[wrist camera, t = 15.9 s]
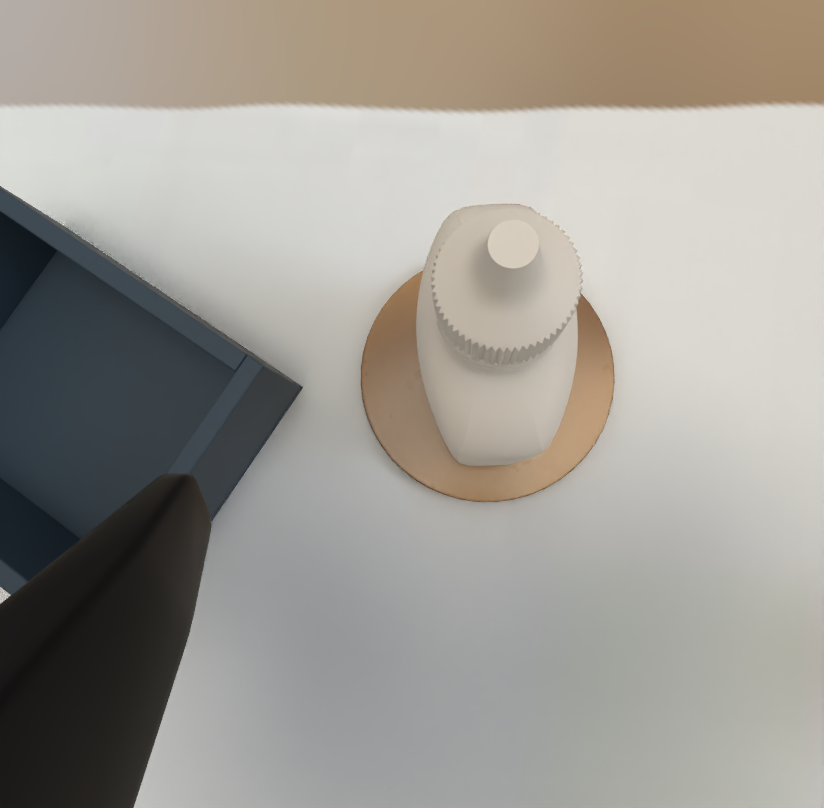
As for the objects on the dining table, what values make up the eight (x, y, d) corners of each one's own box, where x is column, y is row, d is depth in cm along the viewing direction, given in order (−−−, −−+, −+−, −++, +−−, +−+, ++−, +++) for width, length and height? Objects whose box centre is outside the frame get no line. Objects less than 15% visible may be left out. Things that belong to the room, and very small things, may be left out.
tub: (302, 387, 21) (263, 365, 17) (149, 611, 21) (71, 645, 17) (61, 224, 23) (-28, 168, 19) (-86, 430, 22) (-211, 419, 18)
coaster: (660, 339, 20) (664, 336, 20) (522, 552, 20) (524, 553, 19) (449, 213, 21) (449, 208, 21) (315, 411, 21) (312, 410, 21)
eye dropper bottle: (583, 336, 20) (754, 131, 8) (505, 487, 20) (568, 504, 8) (464, 279, 21) (464, 12, 9) (387, 426, 20) (278, 353, 8)
